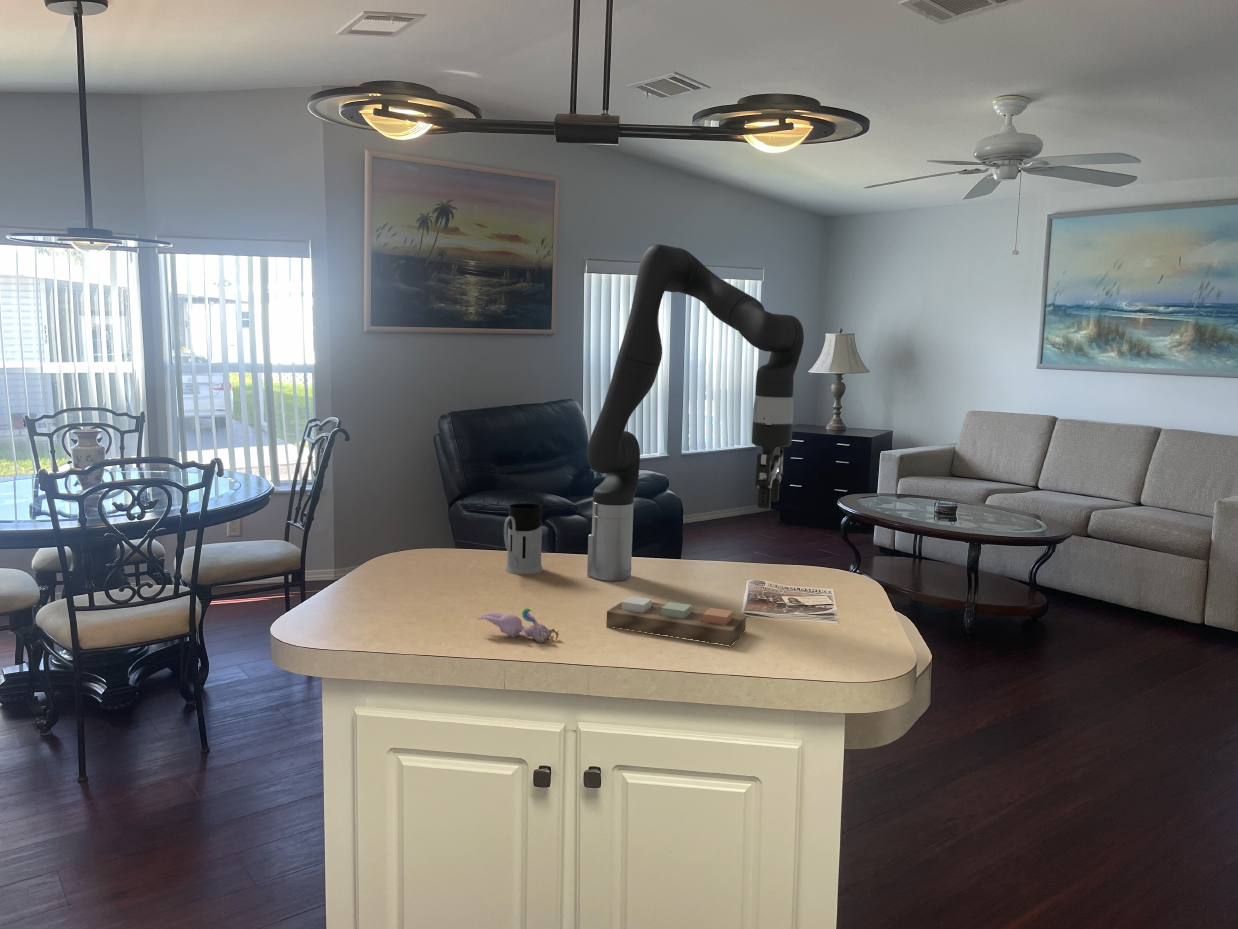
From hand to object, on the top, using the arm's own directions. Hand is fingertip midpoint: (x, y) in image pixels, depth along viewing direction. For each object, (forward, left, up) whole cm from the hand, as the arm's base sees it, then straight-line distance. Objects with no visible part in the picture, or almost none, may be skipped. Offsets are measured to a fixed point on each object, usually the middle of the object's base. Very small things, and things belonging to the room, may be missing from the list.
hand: (768, 504), depth 172 cm
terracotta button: (-5, -14, -21) cm, 26 cm away
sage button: (-13, -14, -21) cm, 28 cm away
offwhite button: (-21, -14, -21) cm, 33 cm away
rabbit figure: (-37, -31, -23) cm, 54 cm away
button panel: (-13, -14, -23) cm, 30 cm away
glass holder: (-59, +9, -23) cm, 64 cm away
